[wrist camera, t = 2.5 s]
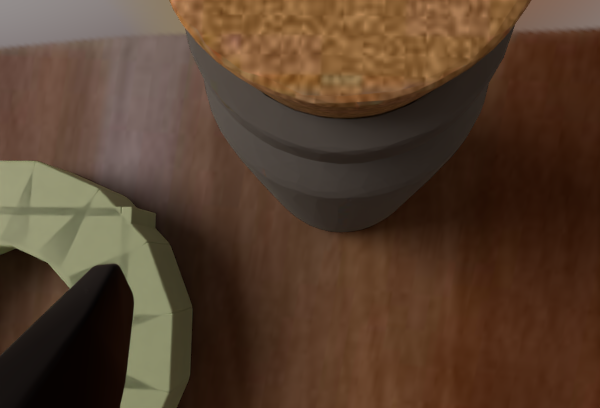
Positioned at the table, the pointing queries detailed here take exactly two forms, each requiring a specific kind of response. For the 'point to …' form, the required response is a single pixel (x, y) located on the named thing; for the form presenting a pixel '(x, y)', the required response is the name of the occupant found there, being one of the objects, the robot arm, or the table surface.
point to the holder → (106, 250)
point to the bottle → (346, 93)
